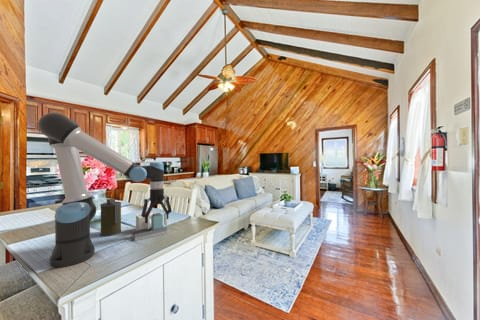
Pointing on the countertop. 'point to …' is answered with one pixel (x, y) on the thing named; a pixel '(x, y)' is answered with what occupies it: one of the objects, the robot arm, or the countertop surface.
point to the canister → (110, 218)
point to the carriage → (156, 221)
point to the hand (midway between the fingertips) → (157, 226)
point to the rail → (147, 233)
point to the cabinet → (142, 221)
